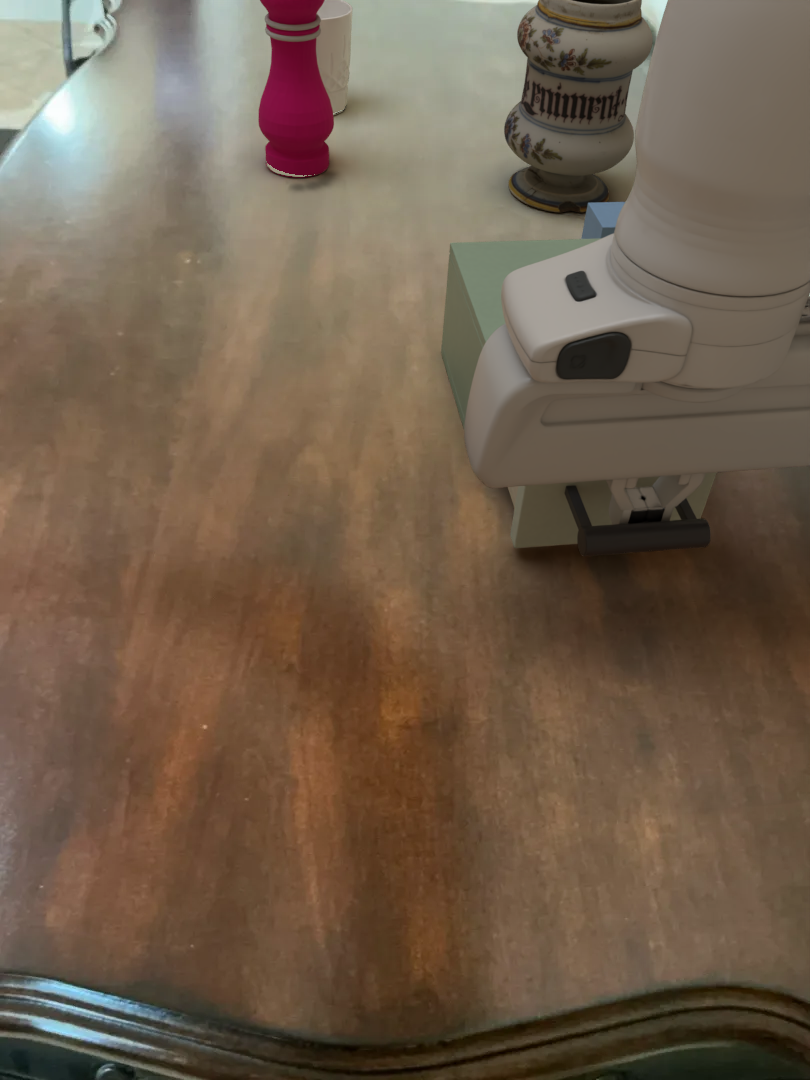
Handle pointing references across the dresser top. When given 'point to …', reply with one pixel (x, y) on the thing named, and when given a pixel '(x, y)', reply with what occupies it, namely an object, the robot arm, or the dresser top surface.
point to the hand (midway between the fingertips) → (636, 521)
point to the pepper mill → (295, 91)
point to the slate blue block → (601, 219)
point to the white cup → (335, 50)
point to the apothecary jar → (574, 99)
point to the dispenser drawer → (603, 519)
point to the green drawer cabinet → (483, 300)
